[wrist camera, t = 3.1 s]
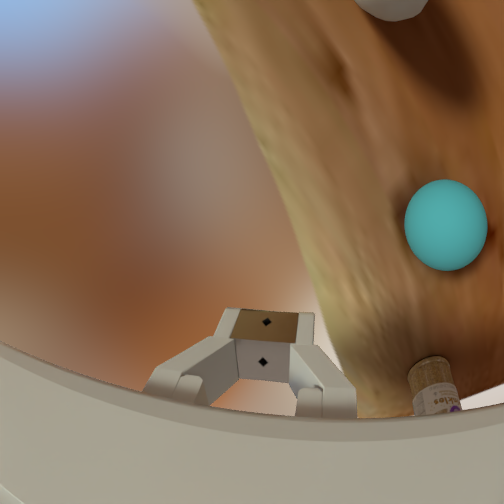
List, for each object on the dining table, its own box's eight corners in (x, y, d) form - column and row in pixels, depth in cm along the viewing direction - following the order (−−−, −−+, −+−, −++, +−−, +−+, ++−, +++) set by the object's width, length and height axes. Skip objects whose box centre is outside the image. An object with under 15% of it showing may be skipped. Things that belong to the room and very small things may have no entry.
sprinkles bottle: (455, 354, 24) (489, 477, 12) (436, 384, 26) (457, 499, 14) (416, 353, 24) (441, 487, 13) (399, 384, 26) (411, 506, 15)
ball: (399, 166, 18) (427, 191, 13) (470, 174, 17) (511, 201, 12) (391, 244, 20) (410, 288, 15) (457, 247, 19) (487, 288, 14)
